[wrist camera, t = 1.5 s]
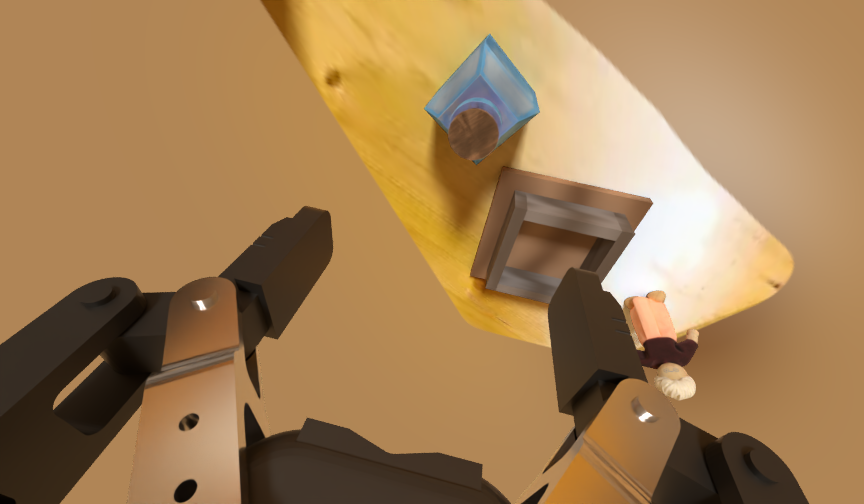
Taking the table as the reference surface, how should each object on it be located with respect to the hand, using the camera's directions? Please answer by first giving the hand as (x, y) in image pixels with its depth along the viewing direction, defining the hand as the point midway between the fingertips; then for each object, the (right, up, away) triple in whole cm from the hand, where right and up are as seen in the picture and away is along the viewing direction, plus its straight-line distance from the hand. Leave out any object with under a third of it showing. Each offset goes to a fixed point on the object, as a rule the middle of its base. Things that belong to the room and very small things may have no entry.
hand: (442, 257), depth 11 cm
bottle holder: (+13, +2, +27) cm, 30 cm away
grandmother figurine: (+26, -6, +30) cm, 40 cm away
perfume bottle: (+5, +15, +18) cm, 24 cm away
